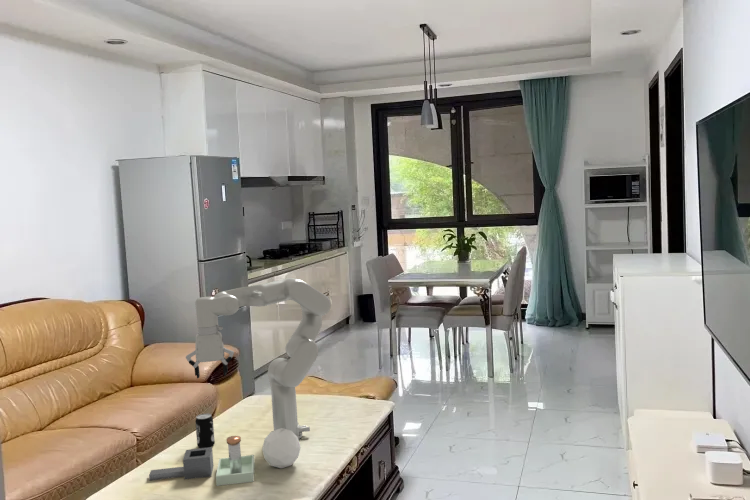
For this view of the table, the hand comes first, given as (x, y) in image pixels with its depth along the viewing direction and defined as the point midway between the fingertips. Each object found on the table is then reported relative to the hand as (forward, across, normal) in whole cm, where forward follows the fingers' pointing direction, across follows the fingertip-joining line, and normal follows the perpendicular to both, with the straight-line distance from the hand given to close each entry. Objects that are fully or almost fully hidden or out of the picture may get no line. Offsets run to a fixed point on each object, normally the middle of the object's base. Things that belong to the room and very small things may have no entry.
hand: (211, 376), depth 244 cm
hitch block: (+30, +12, +14) cm, 35 cm away
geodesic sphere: (+31, -23, +17) cm, 42 cm away
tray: (+30, -7, +20) cm, 37 cm away
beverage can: (+30, +5, -11) cm, 33 cm away
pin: (+30, -7, +20) cm, 36 cm away
